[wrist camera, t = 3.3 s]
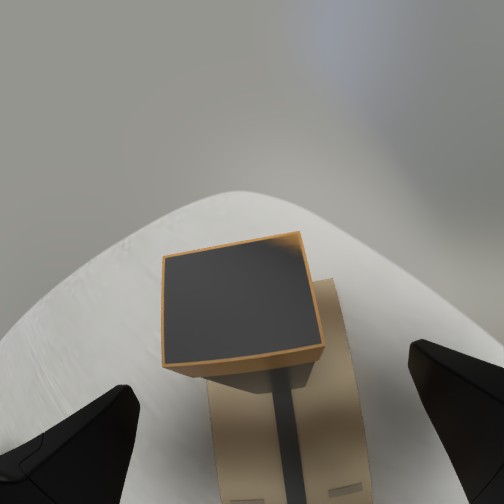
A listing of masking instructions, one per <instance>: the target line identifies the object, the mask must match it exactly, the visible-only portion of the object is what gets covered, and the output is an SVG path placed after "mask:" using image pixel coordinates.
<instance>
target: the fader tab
mask: <svg viewBox="0 0 504 504" xmlns="http://www.w3.org/2000/svg"><path fill="white" fill-rule="evenodd" d="M161 344H162V367H163V368H166V369H169V370H172V371H174V372H177V373H180V374H183V375H186V376H189V377H192V378H196V377H201V378H204V379H207V380H210V381H213V382H217V383H220V384H223V385H226V386H229V387H233V388H236V389H239V390H243V391H246V392H250V393H253V394H264V393H271V392H278V391H285V390H291V389H297V388H303V387H305V386H306V384H307V381H308V379H309V376H310V374H311V371H312V368H313V366H314V363H315V361H319V360H320V357H321V355H322V353H323V351H324V348H325V346H326V345H325V340H324V335H323V330H322V325H321V321H320V316H319V311H318V306H317V302H316V297H315V293H314V288H313V284H312V279H311V275H310V271H309V266H308V262H307V258H306V254H305V250H304V246H303V242H302V238H301V234H300V231H296V232H291V233H285V234H280V235H274V236H269V237H263V238H258V239H252V240H247V241H241V242H236V243H230V244H225V245H220V246H214V247H209V248H204V249H198V250H193V251H188V252H182V253H177V254H172V255H167V256H163V262H162V293H161Z"/></svg>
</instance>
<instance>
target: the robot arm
mask: <svg viewBox="0 0 504 504" xmlns="http://www.w3.org/2000/svg"><path fill="white" fill-rule="evenodd" d="M408 368H409V371H410V373H411V376H412V378H413V381H414V383H415V386H416V388H417V391H418V394H419V396H420V399H421V401H422V404H423V406H424V408H425V410H426V412H427V414H428V416H429V418H430V420H431V422H432V424H433V426H434V428H435V430H436V432H437V434H438V436H439V438H440V440H441V442H442V444H443V446H444V448H445V450H446V452H447V454H448V456H449V458H450V460H451V463H452V465H453V467H454V469H455V471H456V473H457V476H458V478H459V480H460V483H461V485H462V487H463V490H464V492H465V494H466V497H467V499H468V502H469V504H504V368H502V367H499V366H497V365H494V364H491V363H488V362H485V361H482V360H480V359H477V358H474V357H471V356H468V355H466V354H463V353H460V352H457V351H454V350H452V349H449V348H446V347H443V346H441V345H438V344H435V343H433V342H430V341H427V340H424V339H420V340H417V341H414V342H412V343H411V344H410V350H409V359H408ZM139 413H140V403H139V401H138V399H137V397H136V395H135V394H134V392H133V390H132V388H131V387H130V386H129V385H117V386H115V387H114V388H112V389H111V390H109V391H108V392H106V393H105V394H103V395H102V396H100V397H99V398H97V399H96V400H94V401H93V402H91V403H89V404H88V405H86V406H85V407H83V408H82V409H80V410H79V411H77V412H76V413H74V414H72V415H71V416H69V417H68V418H66V419H64V420H63V421H61V422H60V423H58V424H57V425H55V426H53V427H52V428H50V429H48V430H47V431H45V433H42V434H40V435H39V436H37V437H35V438H34V439H32V440H30V441H28V442H27V443H25V444H23V445H21V446H19V447H17V448H15V449H13V450H11V451H9V452H7V453H5V454H2V455H0V504H119V503H120V499H121V495H122V491H123V487H124V482H125V478H126V474H127V471H128V467H129V463H130V459H131V455H132V452H133V448H134V443H135V438H136V431H137V425H138V419H139Z"/></svg>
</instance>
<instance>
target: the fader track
mask: <svg viewBox="0 0 504 504" xmlns="http://www.w3.org/2000/svg"><path fill="white" fill-rule="evenodd" d="M312 284H313V288H314V293H315V297H316V302H317V306H318V311H319V316H320V321H321V325H322V330H323V335H324V340H325V345H326V346H325V348H324V351H323V353H322V355H321V357H320V360H319V361H315V363H314V366H313V368H312V371H311V374H310V376H309V379H308V381H307V384H306V386H305V387H303V388H297V389H291V390H285V391H278V392H271V393H264V394H253V393H250V392H246V391H243V390H239V389H236V388H233V387H229V386H226V385H223V384H220V383H217V382H213V381H210V380H207V388H208V399H209V409H210V419H211V428H212V437H213V445H214V453H215V461H216V468H217V475H218V482H219V489H220V495H221V502H222V504H373V500H372V489H371V479H370V470H369V461H368V453H367V446H366V438H365V432H364V425H363V419H362V412H361V406H360V401H359V395H358V389H357V384H356V379H355V373H354V368H353V363H352V358H351V354H350V349H349V344H348V340H347V335H346V331H345V326H344V322H343V317H342V313H341V309H340V305H339V301H338V297H337V293H336V289H335V285H334V281H333V278H331V279H326V280H321V281H315V282H312Z"/></svg>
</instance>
